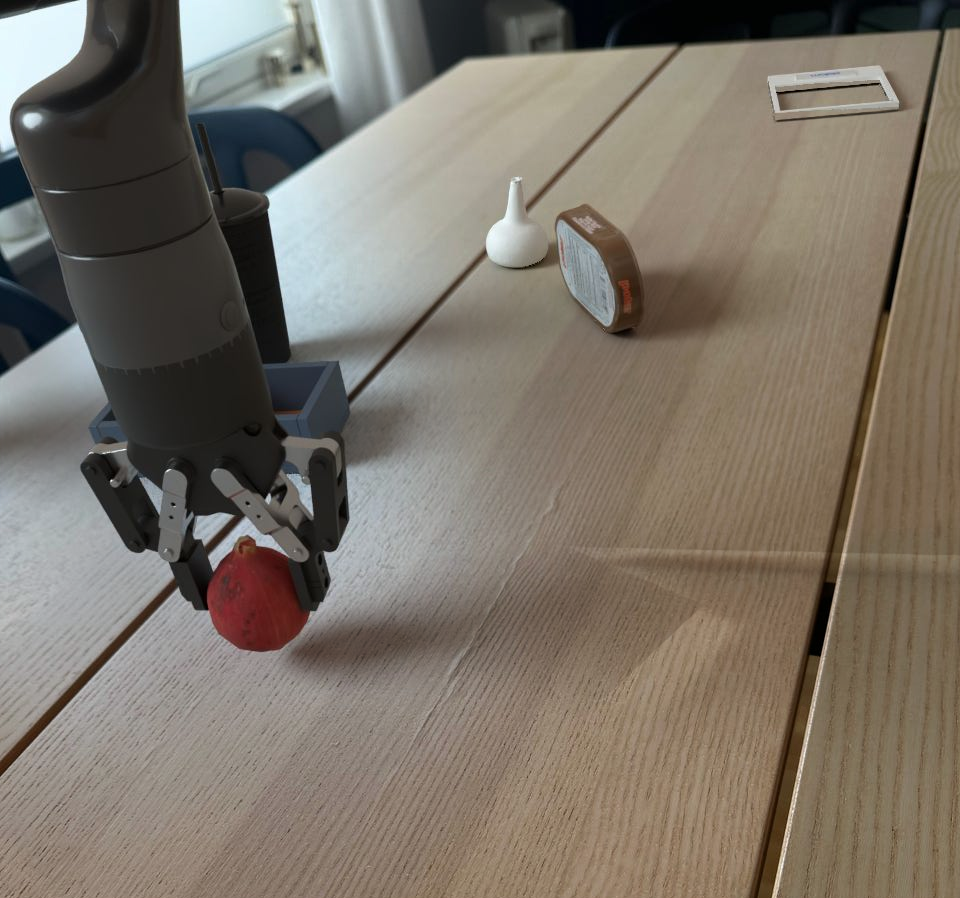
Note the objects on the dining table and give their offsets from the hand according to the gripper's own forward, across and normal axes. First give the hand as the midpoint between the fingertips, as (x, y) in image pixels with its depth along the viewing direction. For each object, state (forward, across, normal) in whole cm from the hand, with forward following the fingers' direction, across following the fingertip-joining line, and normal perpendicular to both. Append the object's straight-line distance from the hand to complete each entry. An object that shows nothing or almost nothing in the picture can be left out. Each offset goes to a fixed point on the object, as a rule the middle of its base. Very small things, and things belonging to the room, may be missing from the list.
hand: (260, 601), depth 58 cm
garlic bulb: (+4, -7, -60) cm, 61 cm away
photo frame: (+4, -42, -109) cm, 117 cm away
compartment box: (+4, +12, -25) cm, 28 cm away
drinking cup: (+5, +14, -40) cm, 42 cm away
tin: (+4, -16, -46) cm, 49 cm away
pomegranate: (+4, 0, 0) cm, 4 cm away
